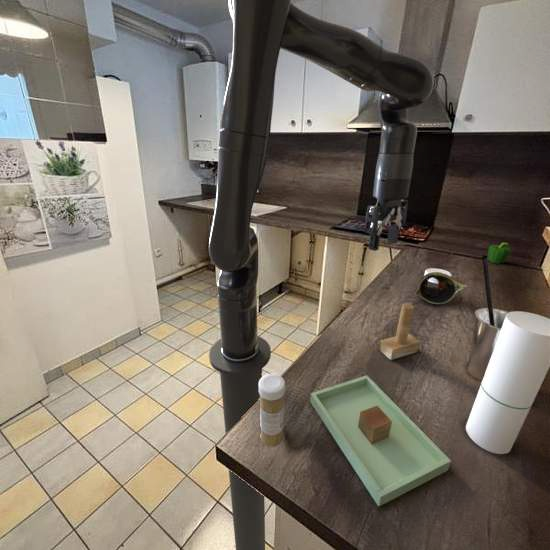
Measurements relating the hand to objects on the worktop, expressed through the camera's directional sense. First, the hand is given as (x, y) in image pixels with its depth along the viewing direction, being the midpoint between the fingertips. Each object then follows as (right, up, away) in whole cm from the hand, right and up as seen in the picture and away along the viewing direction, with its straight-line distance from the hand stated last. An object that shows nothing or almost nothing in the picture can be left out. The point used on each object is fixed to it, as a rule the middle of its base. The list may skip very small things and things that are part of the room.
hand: (382, 246), depth 70 cm
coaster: (+42, -9, +51) cm, 67 cm away
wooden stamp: (+7, -28, +8) cm, 29 cm away
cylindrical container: (+14, -38, -16) cm, 43 cm away
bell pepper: (+81, -1, +71) cm, 108 cm away
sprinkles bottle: (-27, -38, -16) cm, 49 cm away
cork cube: (-8, -37, -16) cm, 41 cm away
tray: (-8, -37, -15) cm, 41 cm away
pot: (+32, -16, +36) cm, 51 cm away
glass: (+23, -31, 0) cm, 39 cm away
